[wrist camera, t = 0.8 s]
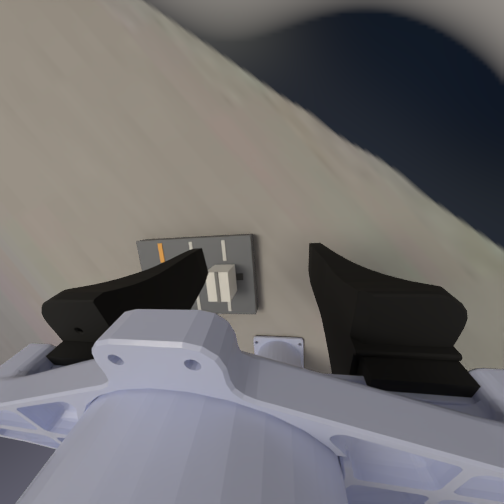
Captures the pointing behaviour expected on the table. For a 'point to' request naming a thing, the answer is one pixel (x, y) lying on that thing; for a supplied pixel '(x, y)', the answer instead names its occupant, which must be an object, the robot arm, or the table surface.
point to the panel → (215, 253)
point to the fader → (221, 283)
